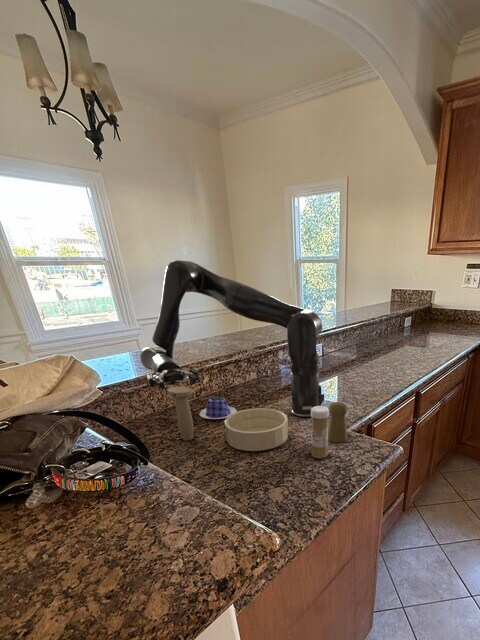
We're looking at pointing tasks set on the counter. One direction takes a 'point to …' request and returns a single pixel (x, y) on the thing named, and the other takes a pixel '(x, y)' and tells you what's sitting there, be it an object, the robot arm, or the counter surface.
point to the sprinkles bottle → (319, 431)
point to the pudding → (217, 409)
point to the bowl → (256, 429)
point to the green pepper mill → (337, 422)
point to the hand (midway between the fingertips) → (178, 383)
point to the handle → (183, 411)
